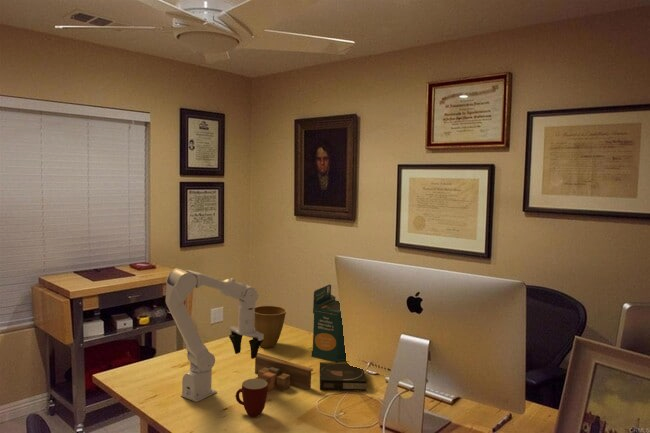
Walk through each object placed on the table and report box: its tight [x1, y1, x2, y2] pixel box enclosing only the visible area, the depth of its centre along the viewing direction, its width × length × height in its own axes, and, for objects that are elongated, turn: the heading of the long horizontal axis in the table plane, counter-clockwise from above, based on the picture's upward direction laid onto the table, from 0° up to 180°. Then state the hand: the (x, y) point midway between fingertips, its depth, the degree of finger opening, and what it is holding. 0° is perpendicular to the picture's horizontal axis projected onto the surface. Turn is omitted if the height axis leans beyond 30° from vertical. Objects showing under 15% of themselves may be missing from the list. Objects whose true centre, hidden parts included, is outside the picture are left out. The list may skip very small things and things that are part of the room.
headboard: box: [254, 352, 314, 392], centre depth 178 cm, size 8×25×7 cm, turn 58°
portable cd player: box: [319, 361, 368, 392], centre depth 182 cm, size 16×17×4 cm
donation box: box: [310, 284, 347, 363], centre depth 207 cm, size 16×16×28 cm
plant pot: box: [254, 305, 287, 349], centre depth 216 cm, size 15×15×16 cm
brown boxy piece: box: [254, 367, 280, 393], centre depth 172 cm, size 12×4×6 cm, turn 148°
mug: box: [235, 378, 269, 418], centre depth 154 cm, size 10×8×10 cm
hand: (245, 355), depth 177 cm, fingers open, 7 cm apart
